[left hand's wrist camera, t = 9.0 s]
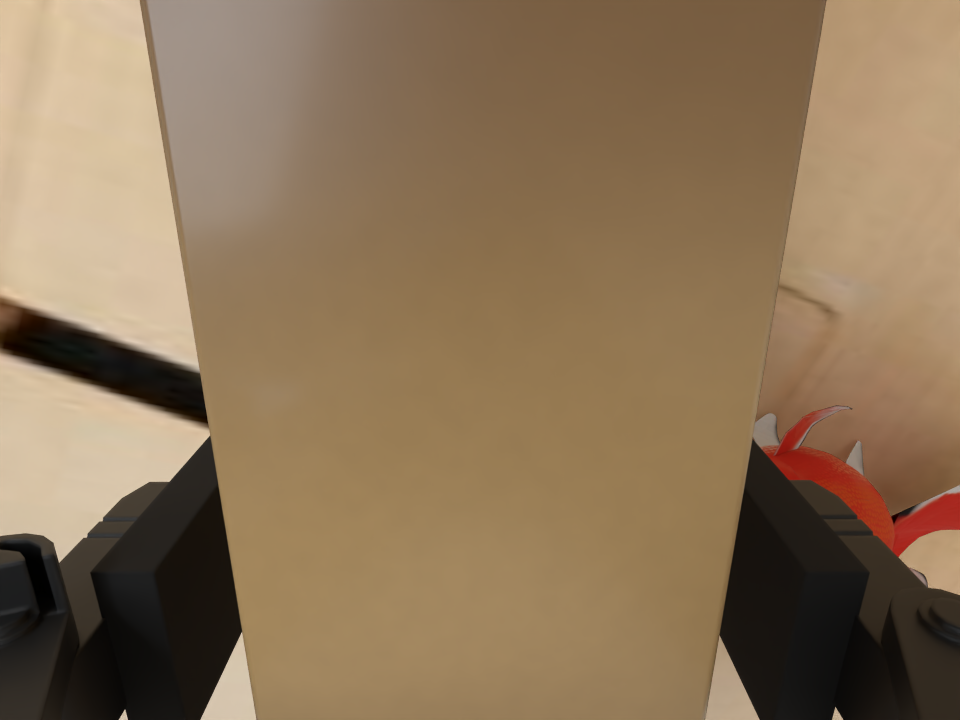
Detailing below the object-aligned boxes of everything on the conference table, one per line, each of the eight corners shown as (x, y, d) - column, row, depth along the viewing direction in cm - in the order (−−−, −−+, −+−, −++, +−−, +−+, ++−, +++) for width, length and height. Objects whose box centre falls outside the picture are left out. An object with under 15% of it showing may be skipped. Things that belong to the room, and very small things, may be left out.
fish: (840, 262, 20) (1083, 557, 14) (1007, 375, 29) (1206, 590, 23) (612, 440, 26) (713, 701, 20) (806, 489, 35) (919, 684, 29)
